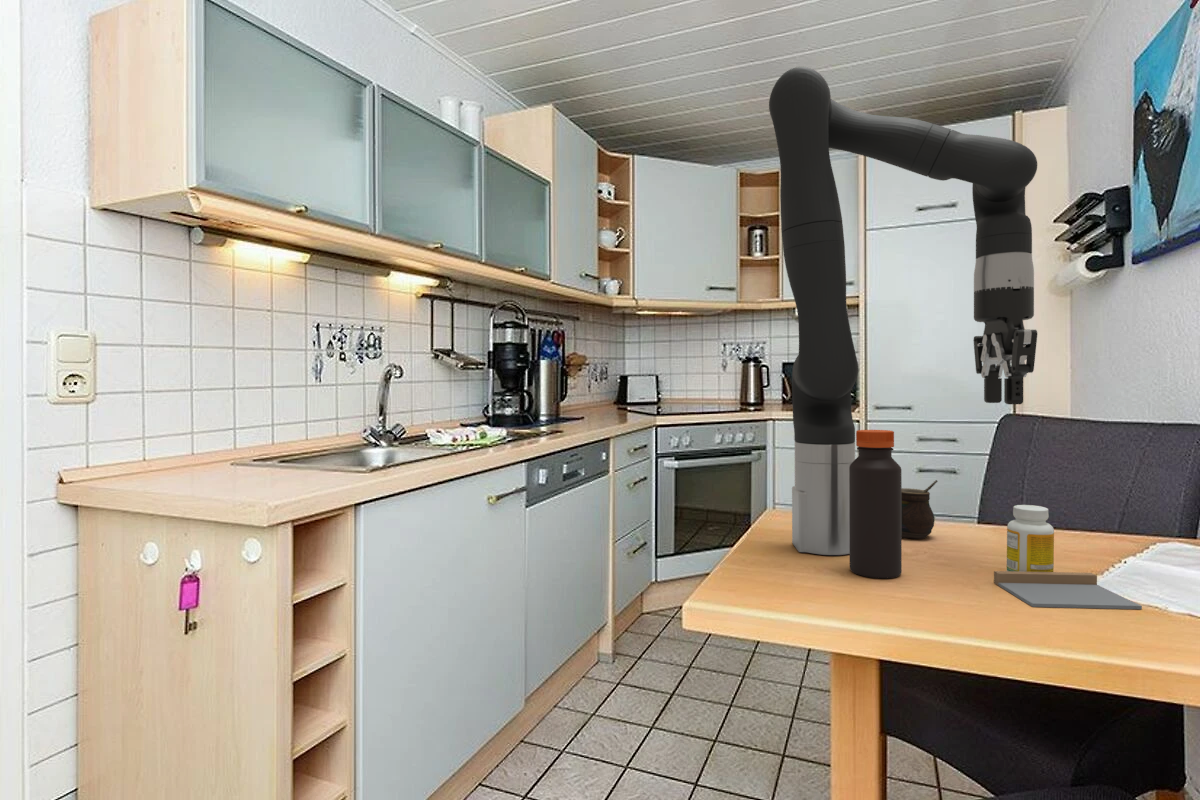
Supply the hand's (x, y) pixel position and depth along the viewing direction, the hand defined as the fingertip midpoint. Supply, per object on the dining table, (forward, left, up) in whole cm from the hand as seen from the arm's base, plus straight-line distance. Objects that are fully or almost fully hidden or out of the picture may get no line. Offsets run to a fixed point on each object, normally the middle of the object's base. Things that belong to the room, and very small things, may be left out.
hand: (1003, 403), depth 97 cm
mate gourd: (-7, +17, -24) cm, 30 cm away
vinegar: (-20, -6, -24) cm, 32 cm away
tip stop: (0, -15, -23) cm, 28 cm away
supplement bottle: (0, -7, -24) cm, 25 cm away
